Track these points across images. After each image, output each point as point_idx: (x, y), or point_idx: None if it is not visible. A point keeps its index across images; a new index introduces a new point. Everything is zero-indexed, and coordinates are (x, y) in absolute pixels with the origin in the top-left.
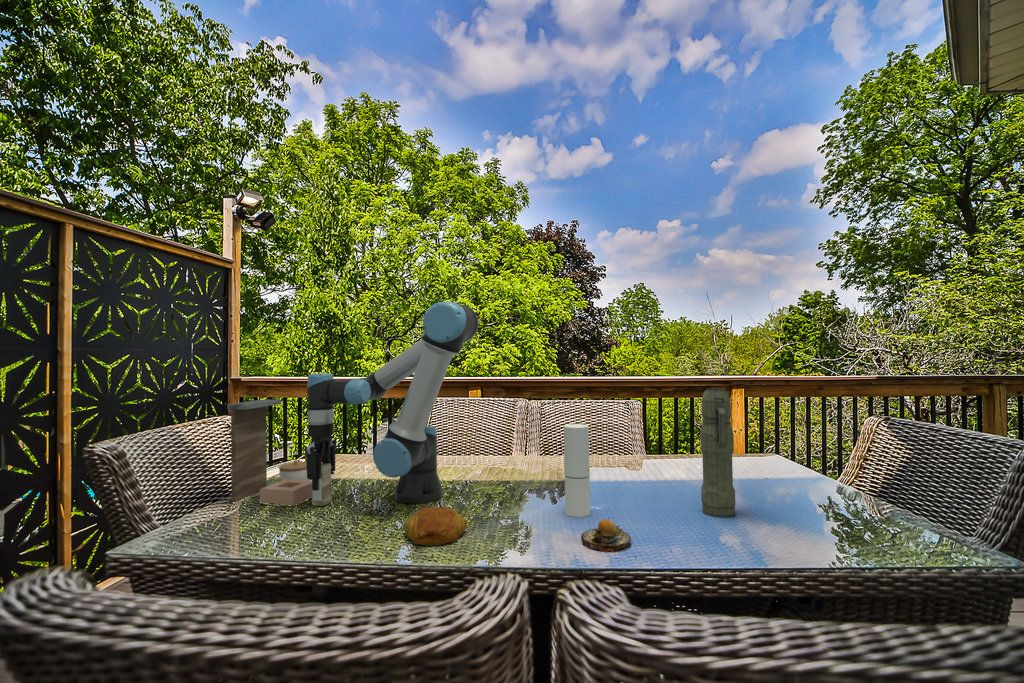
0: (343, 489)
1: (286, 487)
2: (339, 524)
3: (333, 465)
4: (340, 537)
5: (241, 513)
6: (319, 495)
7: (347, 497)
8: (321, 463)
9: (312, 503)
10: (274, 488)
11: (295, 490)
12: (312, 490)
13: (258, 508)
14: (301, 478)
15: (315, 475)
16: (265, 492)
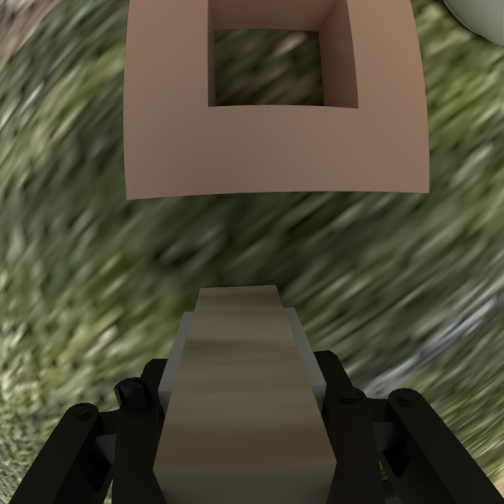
0: (487, 252)
1: (203, 69)
2: None
3: (391, 477)
4: None
5: (40, 29)
6: None
7: (374, 357)
8: (319, 484)
9: (199, 292)
10: (160, 9)
11: (154, 196)
12: (190, 327)
13: (108, 28)
14: (486, 22)
15: (104, 470)
16: None
